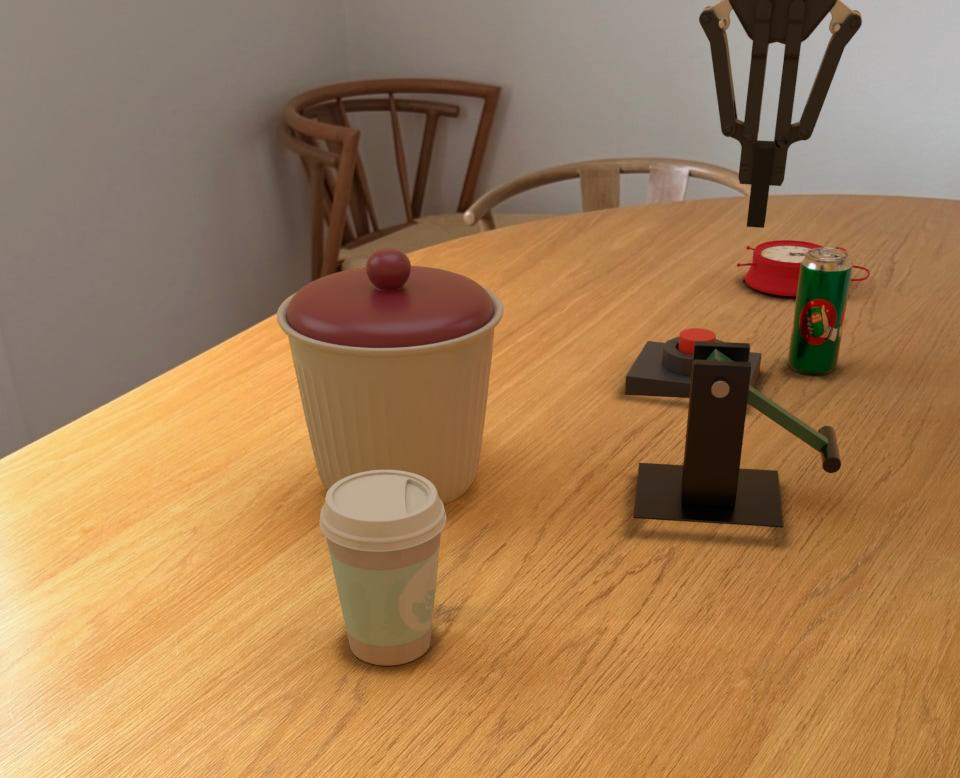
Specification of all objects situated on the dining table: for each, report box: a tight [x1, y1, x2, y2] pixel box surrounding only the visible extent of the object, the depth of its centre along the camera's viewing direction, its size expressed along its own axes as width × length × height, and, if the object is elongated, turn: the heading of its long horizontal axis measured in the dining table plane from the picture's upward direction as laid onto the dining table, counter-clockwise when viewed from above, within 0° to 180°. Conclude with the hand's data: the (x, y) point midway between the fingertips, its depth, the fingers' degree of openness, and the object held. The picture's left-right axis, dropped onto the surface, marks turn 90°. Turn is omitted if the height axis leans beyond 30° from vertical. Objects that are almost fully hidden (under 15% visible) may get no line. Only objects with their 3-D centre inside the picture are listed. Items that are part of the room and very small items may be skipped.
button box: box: [624, 336, 762, 399], centre depth 127 cm, size 12×10×4 cm
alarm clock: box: [736, 239, 871, 297], centre depth 152 cm, size 10×6×15 cm
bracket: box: [633, 341, 784, 528], centre depth 103 cm, size 12×10×14 cm
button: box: [678, 327, 717, 355], centre depth 126 cm, size 4×4×2 cm
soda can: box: [787, 247, 853, 376], centre depth 128 cm, size 5×5×12 cm
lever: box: [707, 349, 842, 474], centre depth 101 cm, size 13×6×2 cm
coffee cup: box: [318, 470, 447, 667], centre depth 87 cm, size 8×8×12 cm
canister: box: [276, 247, 505, 506], centre depth 104 cm, size 18×18×21 cm
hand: (756, 222), depth 109 cm, fingers closed
